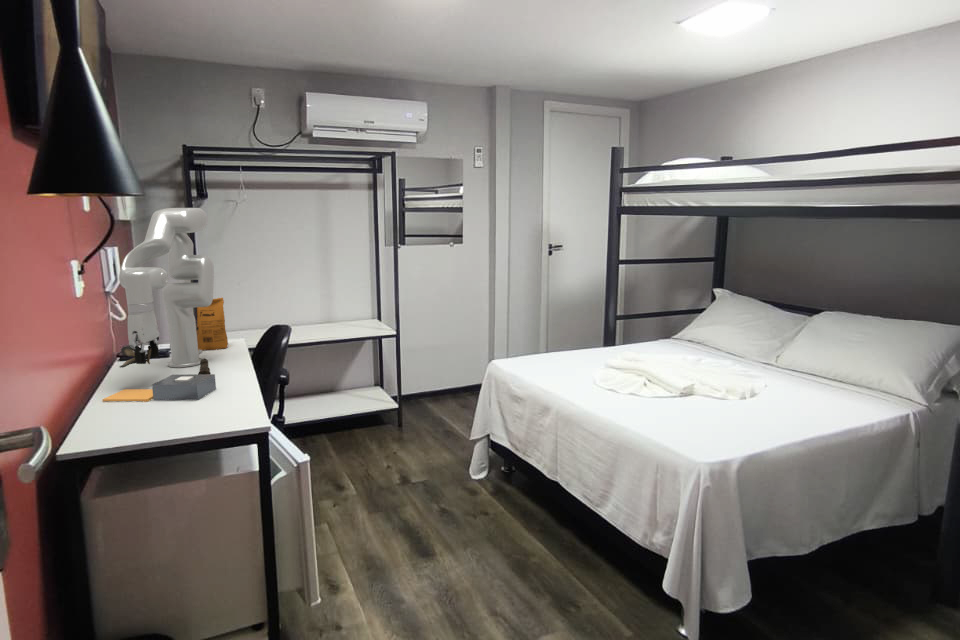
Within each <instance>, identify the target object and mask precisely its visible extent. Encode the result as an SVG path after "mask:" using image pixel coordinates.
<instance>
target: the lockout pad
mask: <svg viewBox="0 0 960 640" xmlns="http://www.w3.org/2000/svg"><path fill="white" fill-rule="evenodd" d="M151 399H152V400H153V390H152V388H135V389H134V388H131V389H130V388H126V389H121V390H119V391H118V392H115V393H113V394H111V395H109V396H106V397H104V398H102V401H142V402H141V403H143V401H144V403H147V402H149V400H150V401H152V400H151Z"/></svg>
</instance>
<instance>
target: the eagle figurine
mask: <svg viewBox="0 0 960 640" xmlns="http://www.w3.org/2000/svg"><path fill="white" fill-rule="evenodd" d="M120 352H121V354H122V355H124V356H127V357H132V358H130V359H128V360H126V361H124V362H123V364H122V365H119V368H120V369H121V368H122V369H123V368H125V367H127V366H130V365H133V364H136V360H135V353H134V352H133V350H132V348H131V347H130V345H125V346H122V347H121V349H120ZM143 352H145V356H146V363H147V364H148V365H150V364H151V362H150V359H151V358H150V354H151V348H150V351H149V350H148V349H147V351H146V350H144V351H143Z"/></svg>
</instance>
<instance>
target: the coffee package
mask: <svg viewBox="0 0 960 640" xmlns="http://www.w3.org/2000/svg"><path fill="white" fill-rule="evenodd" d="M224 303H225V300H224V298H223V297H218V298H213V301H212V303H211V305H210V306H208V307H196V317H197V318H196V322H197V323H196V331H197V342H198V350H199V349H201V350H202V352H204V351H208V350H209V351H210V350H212V351H216V349H217V350H223V349H226V348H228V345H229V342H228V340H229V339H228V336H227V332H226V331H227V330H226V321H225V320H226V319H225V318H226V317H225V310H224Z"/></svg>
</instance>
